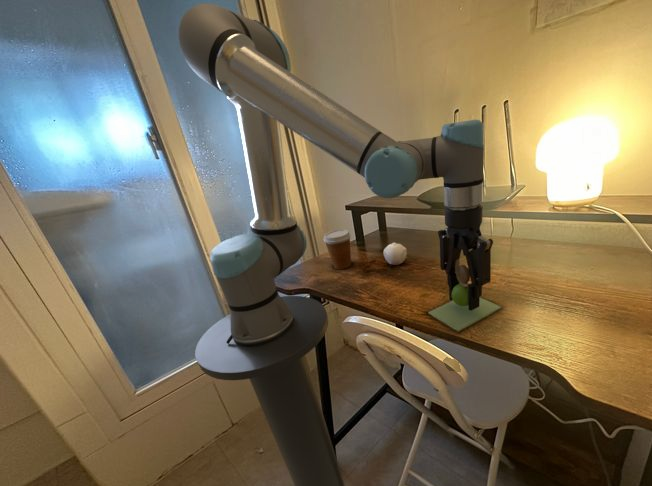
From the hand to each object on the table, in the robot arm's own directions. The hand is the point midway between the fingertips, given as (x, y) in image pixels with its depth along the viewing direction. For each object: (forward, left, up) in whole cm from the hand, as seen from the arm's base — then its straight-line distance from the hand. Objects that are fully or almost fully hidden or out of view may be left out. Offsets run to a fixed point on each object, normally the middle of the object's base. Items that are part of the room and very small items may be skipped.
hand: (463, 302), depth 72 cm
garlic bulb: (+5, +36, -3) cm, 36 cm away
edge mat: (0, 0, -2) cm, 2 cm away
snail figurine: (0, +1, -1) cm, 1 cm away
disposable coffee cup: (-9, +50, -3) cm, 51 cm away
